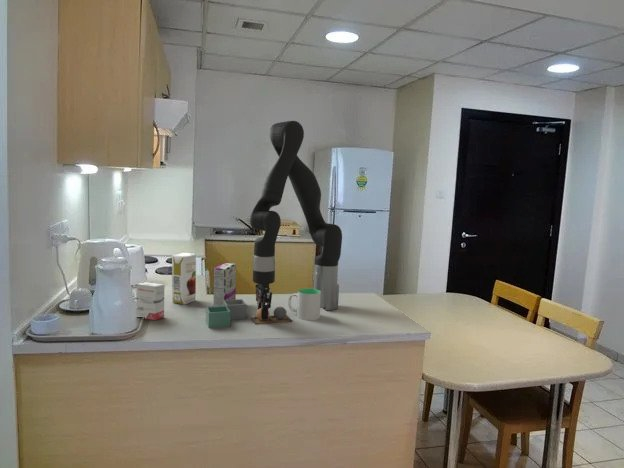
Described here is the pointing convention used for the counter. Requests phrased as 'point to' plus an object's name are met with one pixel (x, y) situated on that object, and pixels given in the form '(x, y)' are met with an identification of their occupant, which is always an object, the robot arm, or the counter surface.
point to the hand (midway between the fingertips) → (262, 316)
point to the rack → (270, 320)
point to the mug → (307, 304)
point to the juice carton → (183, 278)
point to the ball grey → (279, 313)
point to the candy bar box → (224, 283)
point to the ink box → (150, 300)
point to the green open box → (217, 316)
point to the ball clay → (260, 314)
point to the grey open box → (236, 308)
